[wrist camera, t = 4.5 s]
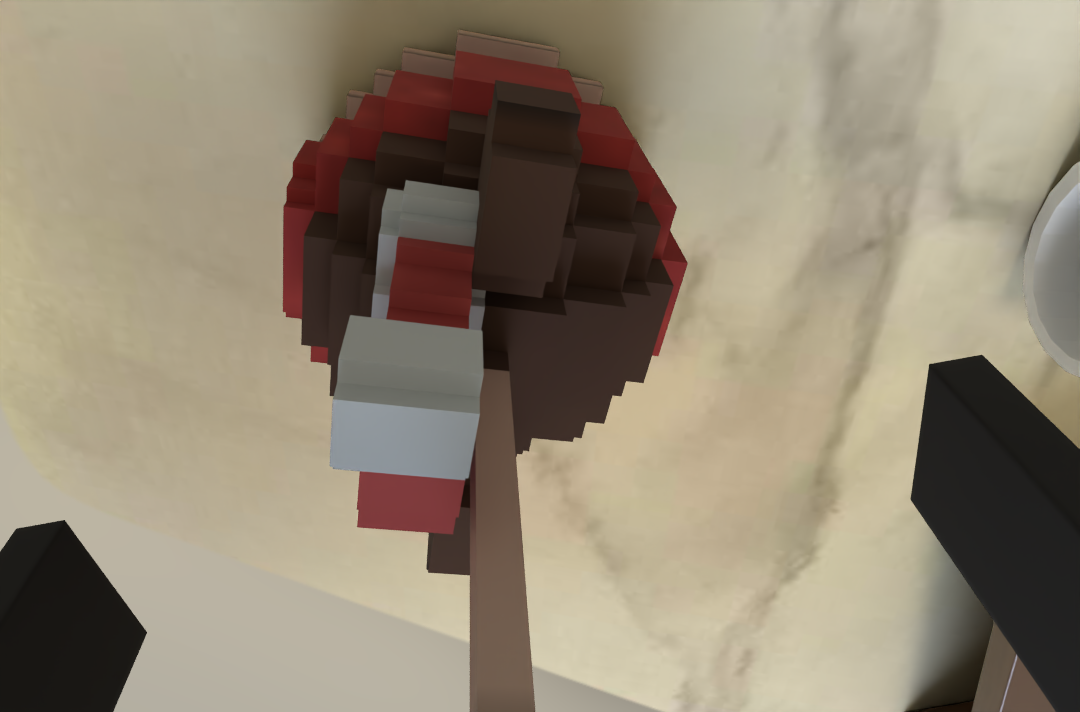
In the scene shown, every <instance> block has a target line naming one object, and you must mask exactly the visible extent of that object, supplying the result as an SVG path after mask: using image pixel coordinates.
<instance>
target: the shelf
mask: <svg viewBox="0 0 1080 712" xmlns="http://www.w3.org/2000/svg"><path fill="white" fill-rule="evenodd" d="M913 712H1056V711H1055V710H1054V708H1053V707H1052V705H1051V704H1050V702H1049V701H1048V699H1047V698H1046V697H1045V695H1044V694H1043V692H1042V691H1041V689H1040V688H1039V686H1038V685H1037V683H1036V682H1035V681H1034V679H1033V678H1032V676H1031V675H1030V673H1029V672H1028V670H1027V669H1026V667H1025V666H1024V664H1023V663H1022V662H1021V660H1020V659H1019V657H1018V656H1017V654H1016V653H1015V651H1014V650H1013V648H1012V647H1011V645H1010V644H1009V643H1008V641H1007V640H1006V638H1005V637H1004V635H1003V634H1002V632H1001V631H1000V629H999V628H998V626H997V625H996V624H995V622H994V624H993V628H992V632H991V636H990V640H989V644H988V648H987V652H986V656H985V660H984V664H983V668H982V672H981V675H980V679H979V683H978V687H977V691H976V695H975V699H974V701H971V702H965V703H959V704H953V705H948V706H942V707H936V708H930V709H924V710H919V711H913Z"/></svg>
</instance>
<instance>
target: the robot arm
mask: <svg viewBox="0 0 1080 712" xmlns="http://www.w3.org/2000/svg"><path fill="white" fill-rule="evenodd" d="M911 501H912V502H913V504H914V505H915V507H916V508H917V510H918V511H919V512H920V514H921V515H922V517H923V518H924V520H925V521H926V523H927V524H928V526H929V527H930V529H931V530H932V531H933V533H934V534H935V536H936V537H937V539H938V540H939V542H940V543H941V545H942V546H943V548H944V549H945V550H946V552H947V553H948V555H949V556H950V558H951V559H952V561H953V562H954V564H955V565H956V567H957V568H958V569H959V571H960V572H961V574H962V575H963V577H964V578H965V580H966V581H967V583H968V584H969V586H970V587H971V588H972V590H973V591H974V593H975V594H976V596H977V597H978V599H979V600H980V602H981V603H982V605H983V606H984V607H985V609H986V610H987V612H988V613H989V615H990V616H991V618H992V619H993V621H994V622H995V624H996V625H997V626H998V628H999V629H1000V631H1001V632H1002V634H1003V635H1004V637H1005V638H1006V640H1007V641H1008V643H1009V644H1010V645H1011V647H1012V648H1013V650H1014V651H1015V653H1016V654H1017V656H1018V657H1019V659H1020V660H1021V662H1022V663H1023V664H1024V666H1025V667H1026V669H1027V670H1028V672H1029V673H1030V675H1031V676H1032V678H1033V679H1034V681H1035V682H1036V683H1037V685H1038V686H1039V688H1040V689H1041V691H1042V692H1043V694H1044V695H1045V697H1046V698H1047V699H1048V701H1049V702H1050V704H1051V705H1052V707H1053V708H1054V710H1055V711H1056V712H1080V449H1079V448H1078V447H1077V446H1076V445H1075V444H1074V443H1073V442H1072V441H1070V440H1069V439H1068V438H1067V437H1066V436H1065V435H1064V434H1063V433H1062V432H1061V431H1060V430H1059V429H1058V428H1057V427H1056V426H1055V425H1054V424H1053V423H1052V422H1051V421H1050V420H1049V419H1048V418H1047V417H1046V416H1045V415H1044V414H1043V413H1042V412H1041V411H1040V410H1038V409H1037V408H1036V407H1035V406H1034V405H1033V404H1032V403H1031V402H1030V401H1029V400H1028V399H1027V398H1026V397H1025V396H1024V395H1023V394H1022V393H1021V392H1020V391H1019V390H1018V389H1017V388H1016V387H1015V386H1014V385H1013V384H1012V383H1011V382H1010V381H1009V380H1007V379H1006V378H1005V377H1004V376H1003V375H1002V374H1001V373H1000V372H999V371H998V370H997V369H996V368H995V367H994V366H993V365H992V364H991V363H990V362H989V361H988V360H987V359H986V358H985V357H984V356H983V355H978V356H973V357H967V358H962V359H956V360H951V361H945V362H940V363H934V364H929V370H928V378H927V385H926V392H925V399H924V407H923V414H922V421H921V428H920V436H919V443H918V450H917V457H916V465H915V472H914V479H913V486H912V494H911ZM146 634H147V632H146V630H145V629H144V628H143V626H142V625H141V624H140V622H139V621H138V619H137V618H136V617H135V615H134V614H133V613H132V611H131V610H130V609H129V607H128V606H127V604H126V603H125V602H124V600H123V599H122V598H121V596H120V595H119V594H118V593H117V591H116V589H115V588H114V587H113V585H112V584H111V583H110V582H109V580H108V579H107V577H106V576H105V575H104V573H103V572H102V571H101V569H100V568H99V566H98V565H97V564H96V562H95V561H94V560H93V558H92V557H91V555H90V554H89V553H88V552H87V550H86V549H85V547H84V546H83V545H82V543H81V542H80V541H79V539H78V538H77V536H76V535H75V534H74V532H73V531H72V530H71V528H70V527H69V526H68V524H67V523H66V522H65V520H63V521H57V522H52V523H46V524H41V525H35V526H30V527H24V528H18V529H16V530H15V531H14V533H13V534H12V536H11V537H10V539H9V540H8V541H7V543H6V544H5V546H4V547H3V549H2V550H1V551H0V712H113V711H114V708H115V706H116V704H117V701H118V699H119V697H120V694H121V692H122V690H123V687H124V685H125V683H126V680H127V678H128V676H129V674H130V671H131V668H132V667H133V664H134V662H135V659H136V657H137V655H138V653H139V650H140V648H141V645H142V643H143V641H144V639H145V636H146Z"/></svg>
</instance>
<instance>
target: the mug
mask: <svg viewBox="0 0 1080 712" xmlns="http://www.w3.org/2000/svg"><path fill="white" fill-rule="evenodd" d="M1023 295H1024V299H1025V304H1026V309H1027V313H1028V318H1029V323H1030V325H1031V327H1032V329H1033V330H1034V332H1035V334H1036V336H1037V338H1038V340H1039V342H1040V344H1041V345H1042V347H1043V349H1044V351H1045V352H1046V353H1047V354H1048V355H1049V356H1051V357H1052V358H1053V359H1054V360H1055V361H1056V362H1057V363H1058V364H1059V365H1060V366H1061V367H1062V368H1063V369H1064V370H1065V371H1066V372H1068V373H1071V374H1073V375H1075V376H1078V377H1080V161H1079V162H1078V163H1076V164H1075V165H1073V167H1072V168H1071V169H1070V170H1069V171H1068V172H1067V174H1066V175H1065V176H1064V177H1063V178H1062V179H1061V180H1060V182H1059V183H1058V184H1057V185H1056V186H1055V187H1054V189H1053V190H1052V191H1051V192H1050V193H1049V195H1048V197H1047V199H1046V201H1045V203H1044V205H1043V207H1042V208H1041V210H1040V212H1039V214H1038V216H1037V218H1036V220H1035V222H1034V224H1033V227H1032V230H1031V234H1030V238H1029V241H1028V245H1027V249H1026V253H1025V256H1024V273H1023Z"/></svg>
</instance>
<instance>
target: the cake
mask: <svg viewBox="0 0 1080 712" xmlns="http://www.w3.org/2000/svg"><path fill="white" fill-rule="evenodd" d="M559 55H560V52H559V50H558V48H556V47H551V46H545V45H540V44H535V43H529V42H524V41H518V40H513V39H507V38H502V37H496V36H491V35H485V34H480V33H475V32H469V31H464V30H458V34H457V43H456V51H455V56H453V55H447V54H441V53H436V52H430V51H424V50H419V49H413V48H408V47H404V50H403V53H402V65H401V70H396V71H395V72H394V71H388V70H382V69H377V70H376V72H375V74H374V88H373V93H367V92H361V91H355V90H350V91H349V93H348V95H347V105H346V119H344V118H338V117H335V119H334V121H333V123H332V125H331V126H330V128H329V130H328V132H327V134H326V135H324V134H323V136H322V138H321V140H320V142H317V141H310V140H306V141H305V143H304V145H303V146H302V148H301V150H300V151H299V153H298V155H297V156H296V158H295V160H294V161H293V177H292V179H291V180H290V182H289V184H288V186H287V201H286V203H285V205H284V225H283V312H286V317H291V318H300V319H302V343H301V345H308V346H311V362H320V363H327V365H331V380H330V396H334V397H333V408H332V428H331V449H330V467H333V469H340V470H352V471H360V476H359V489H358V502H357V510H359V512H358V525H357V527H361V528H375V529H388V530H402V531H415V532H428V533H429V538H428V554H427V570H428V573H443V574H459V575H470V712H535V702H534V689H533V676H532V662H531V649H530V636H529V623H528V610H527V596H526V583H525V570H524V557H523V544H522V531H521V518H520V505H519V492H518V478H517V465H516V456H517V454H522V453H523V450H524V451H529V447H530V443H531V439H532V438H538V439H549V440H559V441H570V442H573V439H574V437H576V438H582V434H583V431H584V427H585V423H586V422H593V423H603V424H604V422H605V419H606V416H607V412H608V409H609V405H610V402H611V398H612V395H614V396H622V393H623V389H624V386H625V383H626V381H630V382H639V383H644V379H645V376H646V373H647V370H648V367H649V363H650V360H651V357H652V355H653V356H658V355H659V352H660V349H661V346H662V343H663V340H664V336H665V333H666V330H667V327H668V324H669V321H670V318H671V314H672V311H673V308H674V305H675V302H676V299H677V296H678V292H679V289H680V286H681V283H682V280H683V277H684V274H685V270H686V267H687V264H688V263H687V261H686V259H685V257H684V255H683V254H682V252H681V250H680V248H679V246H678V244H677V243H676V241H675V239H674V237H673V235H672V234H671V232H670V228H671V225H672V221H673V218H674V215H675V211H676V208H677V207H676V205H675V203H674V202H673V200H672V198H671V197H670V195H669V193H668V192H667V190H666V188H665V187H664V185H663V184H662V182H661V180H660V179H659V177H658V175H657V174H656V172H655V170H654V169H653V168H652V166H651V165H650V163H649V161H648V160H647V158H646V156H645V155H644V153H643V151H642V150H641V148H640V146H639V144H638V142H637V141H636V139H635V137H633V136H632V134H631V133H630V131H629V129H628V128H627V126H626V124H625V123H624V121H623V119H622V118H621V115H620V113H619V112H618V110H617V109H616V108H615V107H609V106H604V105H600V101H601V97H602V92H603V86H602V84H601V83H600V82H599V81H593V80H588V79H582V78H576V77H571V75H570V73H569V71H568V70H565V69H559V68H557V65H558V60H559Z"/></svg>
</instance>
